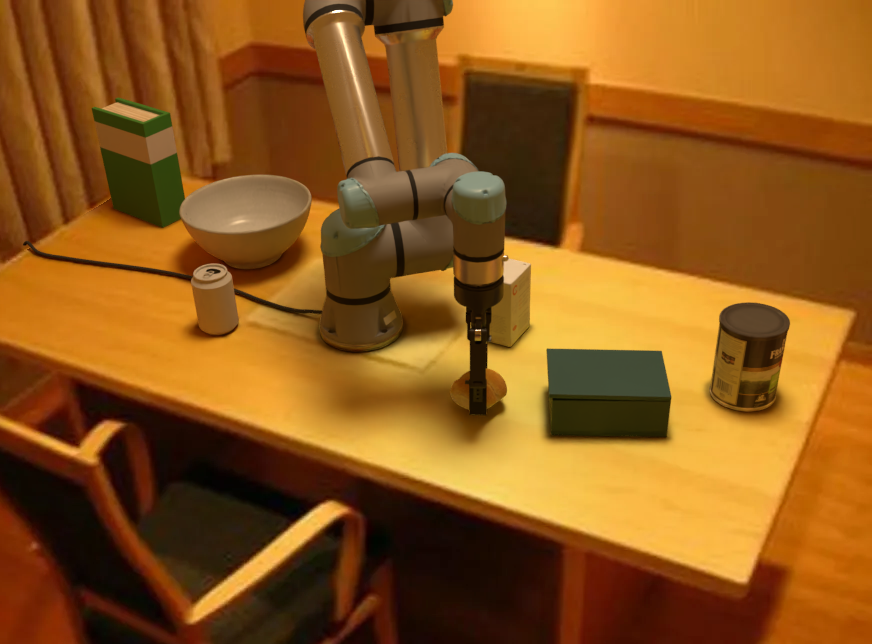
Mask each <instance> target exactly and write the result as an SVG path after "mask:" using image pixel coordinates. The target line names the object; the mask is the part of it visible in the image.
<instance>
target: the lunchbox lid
mask: <svg viewBox="0 0 872 644" xmlns="http://www.w3.org/2000/svg"><path fill="white" fill-rule="evenodd" d="M546 365H547V369H546V370H547V382H548V383H547V385H548V387H549V392H548V399H549V398H566V399H607V400H647V401H671V402H672V393H671V387H670V384H669V378H668V373H667V369H666V364H665V360H664V354H663V351H662V350H648V349H647V350H645V349H644V350H643V349H636V350H635V349H595V348H594V349H592V348H591V349H590V348H589V349H587V348H546Z"/></svg>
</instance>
